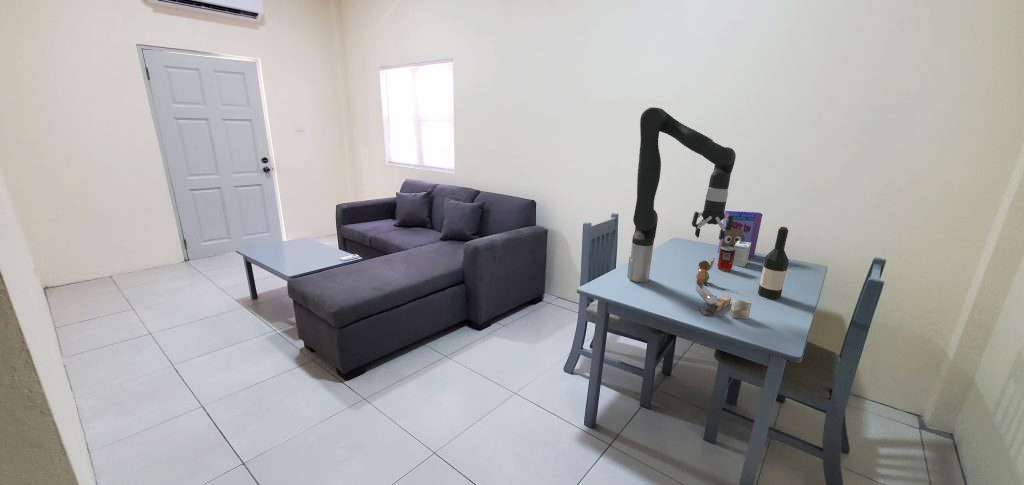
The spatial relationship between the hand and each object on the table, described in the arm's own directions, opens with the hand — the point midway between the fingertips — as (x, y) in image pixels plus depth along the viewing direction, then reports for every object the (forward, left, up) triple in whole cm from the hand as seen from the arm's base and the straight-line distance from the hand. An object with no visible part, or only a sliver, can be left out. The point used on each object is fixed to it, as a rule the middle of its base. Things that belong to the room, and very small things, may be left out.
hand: (708, 238), depth 167 cm
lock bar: (-2, -11, -21) cm, 24 cm away
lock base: (+3, -13, -25) cm, 28 cm away
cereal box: (+41, +61, -25) cm, 77 cm away
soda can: (+24, +34, -25) cm, 48 cm away
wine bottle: (+30, +3, -25) cm, 39 cm away
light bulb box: (+36, +45, -25) cm, 62 cm away
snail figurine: (+7, +15, -25) cm, 30 cm away
